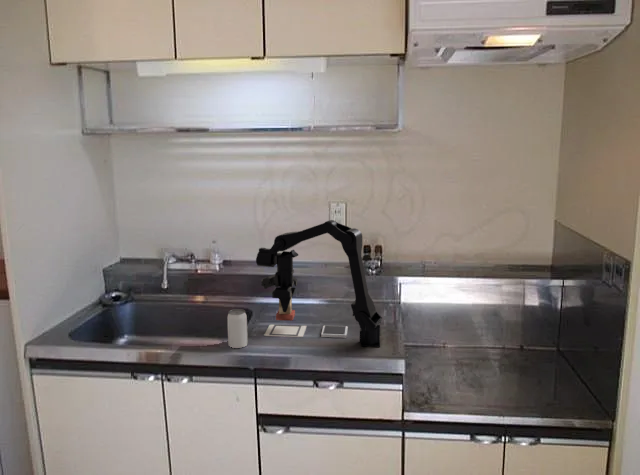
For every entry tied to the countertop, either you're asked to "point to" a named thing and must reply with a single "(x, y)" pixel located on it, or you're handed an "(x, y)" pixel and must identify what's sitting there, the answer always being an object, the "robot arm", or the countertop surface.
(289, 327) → the print sheet
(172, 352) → the countertop surface
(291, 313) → the stamp
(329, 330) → the ink pad
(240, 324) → the can
